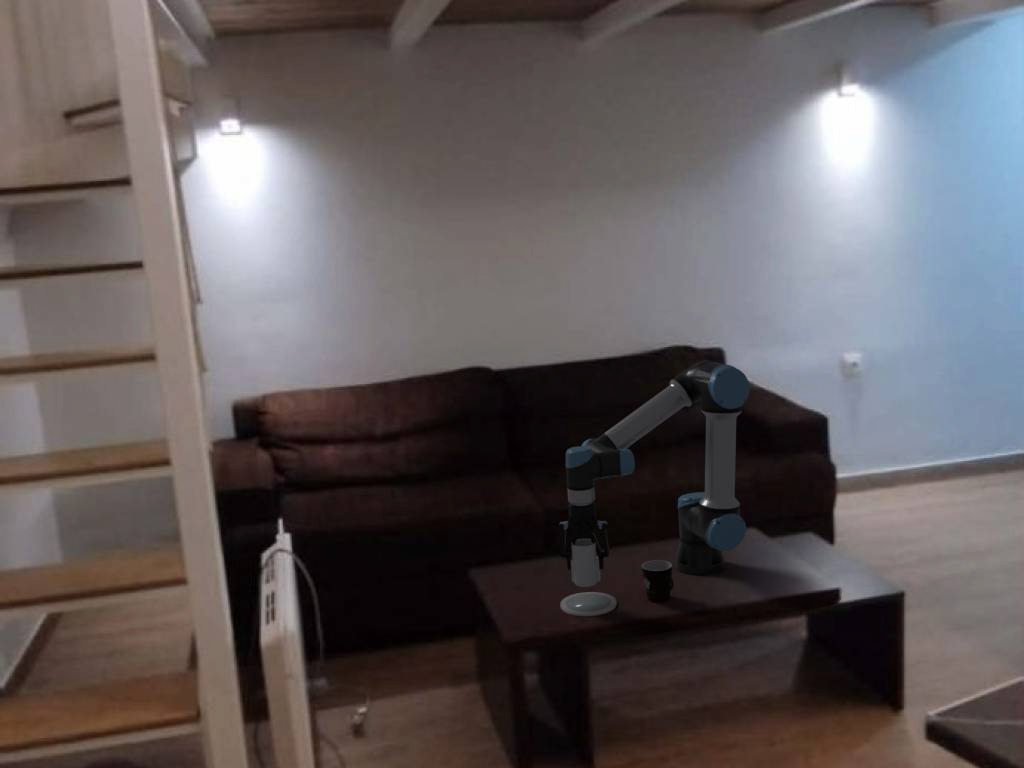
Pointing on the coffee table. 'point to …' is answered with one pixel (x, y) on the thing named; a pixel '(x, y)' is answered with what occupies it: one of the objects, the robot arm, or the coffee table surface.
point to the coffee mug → (658, 580)
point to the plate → (588, 604)
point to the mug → (584, 562)
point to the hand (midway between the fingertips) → (586, 579)
